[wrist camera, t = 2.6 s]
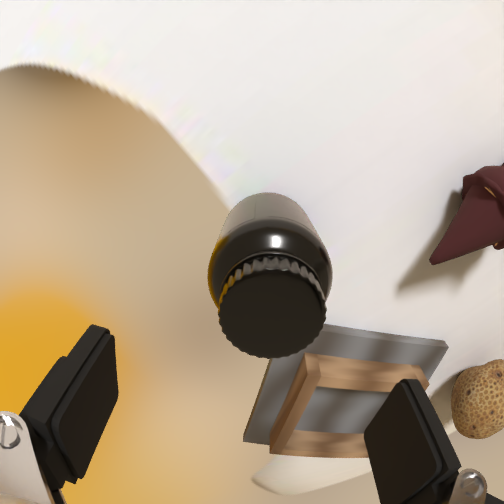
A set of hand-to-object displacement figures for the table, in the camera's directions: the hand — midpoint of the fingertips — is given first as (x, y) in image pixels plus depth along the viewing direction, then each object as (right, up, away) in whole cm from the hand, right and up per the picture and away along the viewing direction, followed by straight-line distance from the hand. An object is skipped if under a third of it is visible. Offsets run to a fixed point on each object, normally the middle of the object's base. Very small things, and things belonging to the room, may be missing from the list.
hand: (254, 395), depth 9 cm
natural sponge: (+26, -10, +21) cm, 35 cm away
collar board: (+10, -11, +22) cm, 26 cm away
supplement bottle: (+1, +6, +16) cm, 17 cm away
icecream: (+19, +9, +14) cm, 25 cm away
